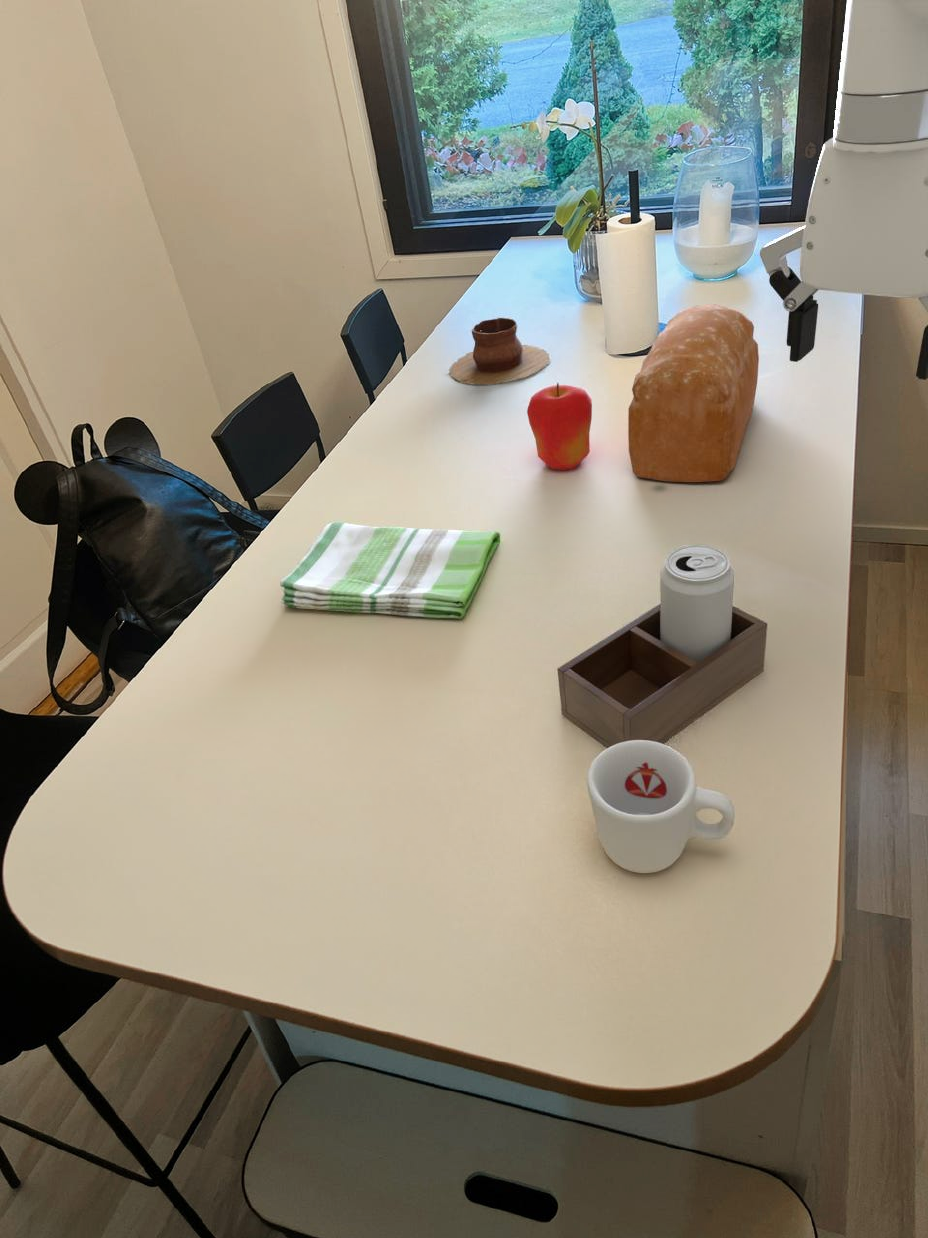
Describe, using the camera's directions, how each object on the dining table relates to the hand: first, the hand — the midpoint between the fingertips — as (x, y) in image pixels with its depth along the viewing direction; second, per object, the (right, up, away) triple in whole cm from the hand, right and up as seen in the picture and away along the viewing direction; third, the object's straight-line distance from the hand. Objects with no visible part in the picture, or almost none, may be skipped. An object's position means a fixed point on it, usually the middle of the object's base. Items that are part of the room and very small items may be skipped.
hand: (862, 363), depth 68 cm
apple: (-17, +2, +54) cm, 57 cm away
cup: (-16, -38, +1) cm, 41 cm away
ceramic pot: (-25, +25, +86) cm, 92 cm away
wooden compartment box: (-12, -27, +15) cm, 33 cm away
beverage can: (-9, -24, +16) cm, 31 cm away
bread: (+1, +5, +54) cm, 54 cm away
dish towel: (-40, -15, +37) cm, 56 cm away
